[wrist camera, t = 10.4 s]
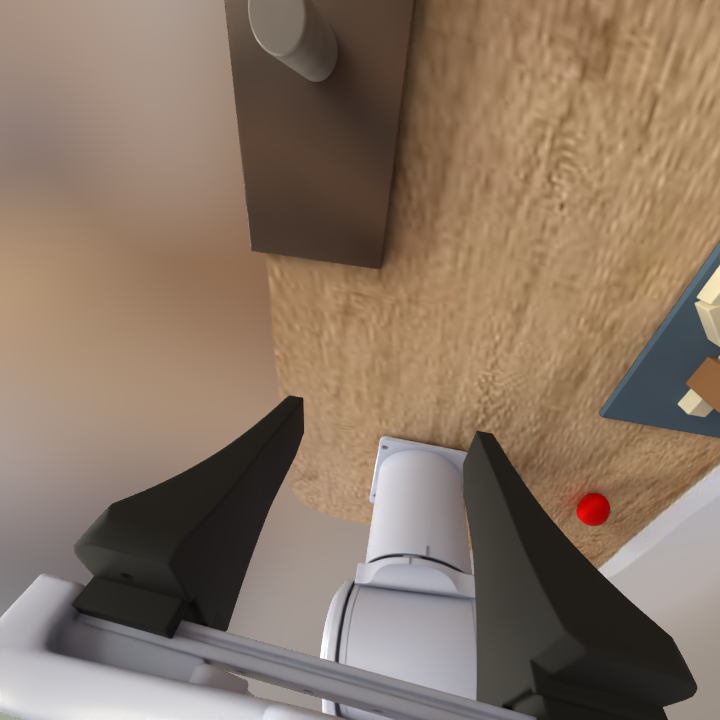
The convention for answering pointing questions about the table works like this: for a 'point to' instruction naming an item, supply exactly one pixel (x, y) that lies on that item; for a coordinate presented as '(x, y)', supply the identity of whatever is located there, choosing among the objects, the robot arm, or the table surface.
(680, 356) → the mat
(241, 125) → the peg stand
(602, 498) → the candy
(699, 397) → the octagonal ring with handle
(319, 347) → the table surface
